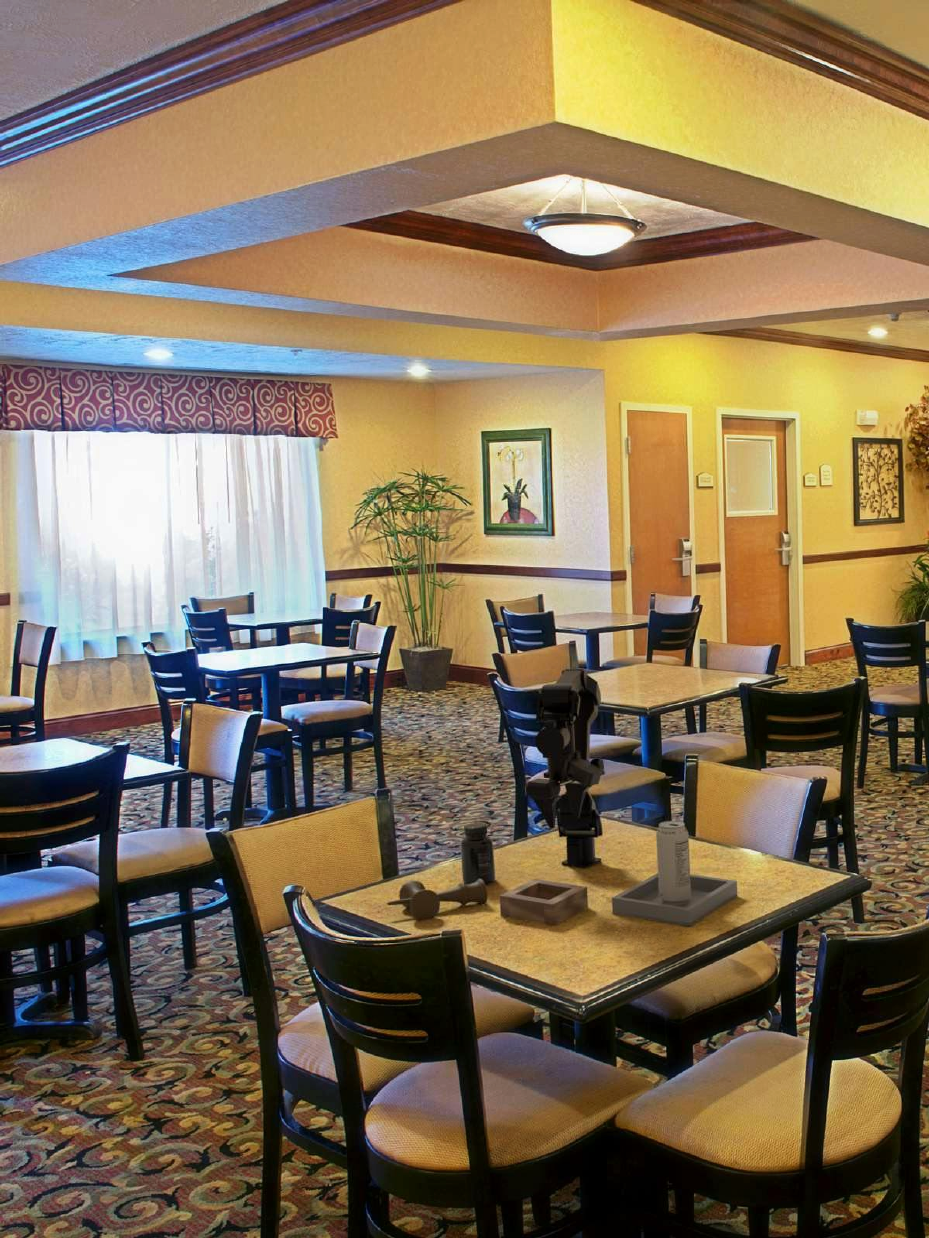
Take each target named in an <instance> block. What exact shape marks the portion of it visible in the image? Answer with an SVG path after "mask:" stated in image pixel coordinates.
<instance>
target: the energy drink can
mask: <svg viewBox="0 0 929 1238" xmlns="http://www.w3.org/2000/svg"><path fill="white" fill-rule="evenodd" d="M685 824H686V823H685V822H683V821H677V820H675V821H674V820H667V821H663V822H662V821H661V822H660V823H659V824H658V829H657V831H656V832H655V835H656V836H655V837H656V858H657V860H656V863H657V873H658V886H659V898H660V899H662V902H663V903H664V904H667V905H674V906H676V905H684V904H686V903H688V899H690V898H691V884H690V874H691V868H690V867H691V865H690V863H691V861H690V843H689V831H688V830H687V828H686V826H685Z"/></svg>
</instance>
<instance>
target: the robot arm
mask: <svg viewBox="0 0 929 1238" xmlns="http://www.w3.org/2000/svg"><path fill="white" fill-rule="evenodd" d="M601 696H602V695H601V689H600V687H599V683H598V681H597V680H596V679H594V678H593V677H591V676H590V675H589V674H588V672H587V669H584V668H579V667H577V668H576V667H575V668H565V669H563V670H562V671H561V675H560V676H559V678H558V679H557V680H556V681H555V683H547V684H544V685H542V686H541V689H540V690H539V691H538V693H537V702H536V703H537V704H536V715H535V722H536V723H539V722H540V723H541V722H542V724H543V728H542V729H540V731H539V732H538V733H537V735H536V737H535V742H534V743H535V747H536V749H537V750H538V752H539V753H540V754H541V755H542V759H546V764H547V771H546V772H543V778H535V779H532V780H529V781H528V782H527V783H526V784H525V785H524V787H525V788H524V791H525V793H524V794H525V796H527V797H529V799H530V800H533V802H534V804H535V805H536V806H537V808H538V810H539V811H540V813H541V815H542V817H543V819H544V821H545V823H546V824H547V826H548V827H549V829H555V826H556V824H557V830H558V837H559V838H565V839H566V845H565V848H566V859H565V860H563V861H561V865H564V866H572V867H576V868H581V869H582V868H584V869H587V868H589V867H591V866H594V865H596V864H598V863H600V862H602V858H600V857H596V846H595V845H596V844H595V843H596V842H595V839H597V838H599V837H602V836H603V835H604V834H603V823H602V818H601V816H600V815H599V811H598V809H597V808H596V803H595V801H594V799H593V797H592V795H591V793H590V791H589V789H591V788H592V787H593V786H595V785H596V786H597V785H599V783H600V781H601V777H602V776H604V775H605V774H606V773H605V772H606V771H605V764H604V759H602V758H601V757H598V756H597V757H594V758H592V759H591V760H590V752H591V751H590V747H591V741H590V740H591V726H592V724H593V722H594V721H595V719H596V718H597V717H598V715H599V714H598V713H599V706H601V703H602V702H601V701H602V697H601ZM562 787H564V788H565V792H564V793H563V794H561V793H560V792H561V791H562V789H561V788H562ZM560 794H561V795H560ZM558 801H559V808H558V809H557V802H558ZM556 810H557V811H556ZM556 822H557V823H556Z"/></svg>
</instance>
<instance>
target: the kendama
mask: <svg viewBox="0 0 929 1238" xmlns="http://www.w3.org/2000/svg"><path fill="white" fill-rule="evenodd" d="M398 897H399V899H397V900H390V901H388V902H386V905H387V906H398V905H402V907H404V908H405V909H409V912H410V914H411V916H412V917H413V918H414V919H415V920H418V921H420V922H421V921H429V920H432V919H433V918H434V919H435V917H436V916H438V913H439V912H440V906H441V902H442V903H445V902H447V903H448V902H449V903H459V904H461V905H462V906H466V905H467V904H468V903H477V904H480V905H482V904H485V905H486V903H487V902H488V887H487V885H486V884H485V882H484V881H483V880H482V879H478V880H477V881H476V882H475V883H472V884H465V883H464V882H460V883H459V884H458V885H457V886H456V887H453V888H450V889H448V890H447V889H446V890H444V891H440V892H435V891H434V890H431V889H426V887H425V885H424V884H423V883H422V882H420V881H418V880H409V881H407V882H405V883H403V884H402V885H401V888H400V890H399V896H398Z"/></svg>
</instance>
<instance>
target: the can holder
mask: <svg viewBox="0 0 929 1238" xmlns="http://www.w3.org/2000/svg"><path fill="white" fill-rule="evenodd" d="M588 898H589V897H588V886H582V885H577V884H571V883H564V882H558V881H552V880H544V879H538V878H534V879H532V880H529V881H527V882H526V883H523V884H521V885H518V886H516V887H515V888H513V889H511V890H508V891H506V892H504V893H502V894H500V895H499V907H500V908H499V909H500V911H499V912H500V917H504V918H508V917H509V919H514V918H515V920H519V921H525V920H527V921H526V922H530V923H531V921H532V923H537V924H540V925H548V926H552V927H555V926H556V925H558V924H560V923H561V922H564V921H566V920H567V919H569V918H572V917H573V916H574V915H577V914H578V913H580V912H582V911H584V910H586V909H588V908H589V899H588Z"/></svg>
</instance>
